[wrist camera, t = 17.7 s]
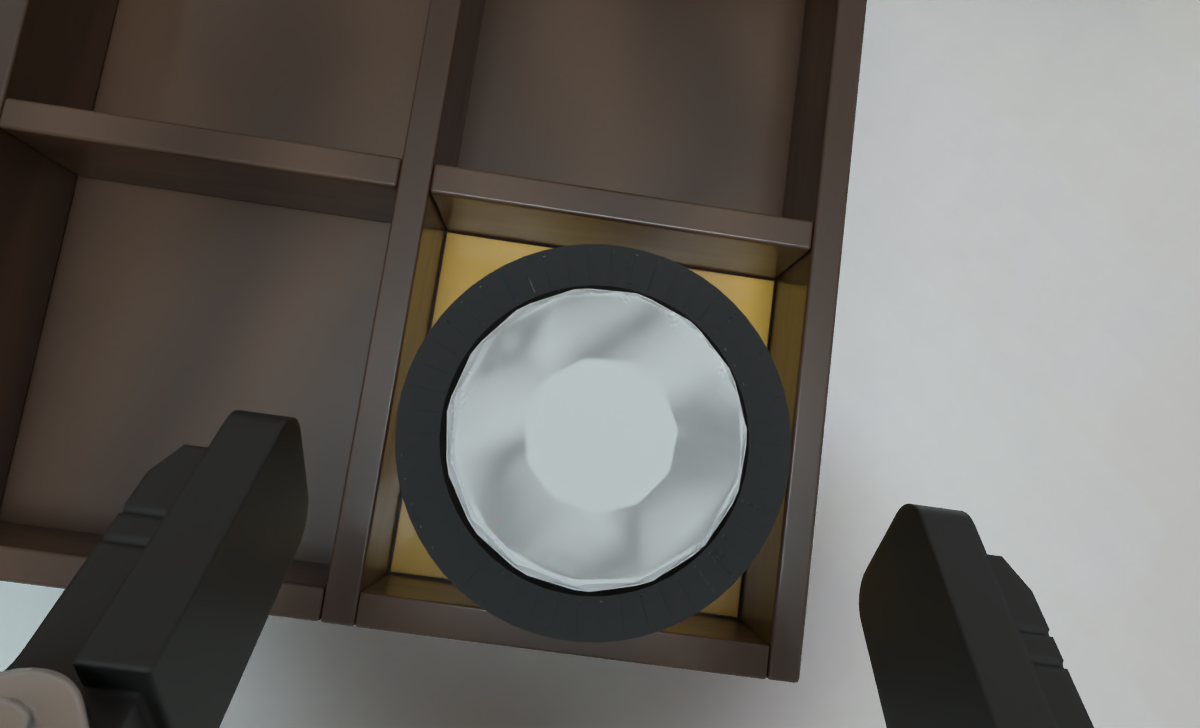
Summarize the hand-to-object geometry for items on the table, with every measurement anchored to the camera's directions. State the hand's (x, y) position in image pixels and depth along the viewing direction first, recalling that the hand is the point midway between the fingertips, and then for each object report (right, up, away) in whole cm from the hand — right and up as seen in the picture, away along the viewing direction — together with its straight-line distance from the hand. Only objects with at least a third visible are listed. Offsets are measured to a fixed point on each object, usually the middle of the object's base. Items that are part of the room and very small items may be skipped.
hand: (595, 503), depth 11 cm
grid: (-4, +6, +10) cm, 12 cm away
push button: (0, 0, +9) cm, 9 cm away
